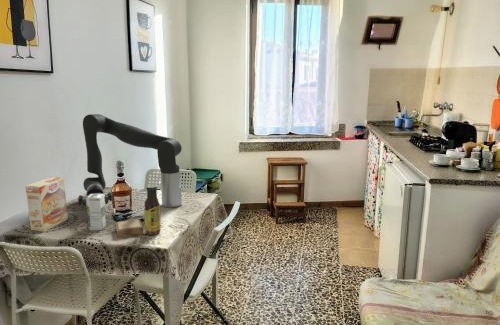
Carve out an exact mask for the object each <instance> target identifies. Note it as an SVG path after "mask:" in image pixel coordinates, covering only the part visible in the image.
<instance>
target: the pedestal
mask: <svg viewBox="0 0 500 325" xmlns="http://www.w3.org/2000/svg"><path fill="white" fill-rule="evenodd" d="M115 230H116V235H117V238H118V239H120V238H126V237H132V236H133V237H134V236H140V235H141V236H142V235H144V226H143V224H142V220H141V219H140V218H137V219H129V220H120V221H116V222H115Z"/></svg>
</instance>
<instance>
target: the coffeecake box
mask: <svg viewBox="0 0 500 325" xmlns="http://www.w3.org/2000/svg"><path fill="white" fill-rule="evenodd" d="M24 187H25V193H26V201H27V209H28V217H29V223H30V224H29V225H30V231H37V232H47V231H48V230H51V229H52V228H54V227H56V226H57V225H59V224H62V223H63V222H65V221H67V220H68V219H69V217H68V208H67V199H66V190H65V189H66V188H65V178H64V177H57V176H56V177H55V176H50V177H46V178H45V179H41V180H39V181H36V182H33V183H30V184H27V185H25V186H24Z"/></svg>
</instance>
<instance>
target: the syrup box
mask: <svg viewBox="0 0 500 325" xmlns="http://www.w3.org/2000/svg"><path fill="white" fill-rule="evenodd" d="M104 194H105V193H104ZM104 194H91V195H89V196H88V197H87V198H86V202H87V204H86V211H87V225H88V228H87V229H88V231H103V229H104V228H106V226H107V212H106V204H105V199H104Z"/></svg>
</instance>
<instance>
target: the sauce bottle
mask: <svg viewBox="0 0 500 325" xmlns="http://www.w3.org/2000/svg"><path fill="white" fill-rule="evenodd" d="M157 190H158V186H157V185H156V184H155V185H154V184H152V185H147V186H146V199H145V201H144V230H145V231H144V232H145V234H146V235H147V236H153V235H154V236H155V235H158V234H159V233H160V232H161V228H162V226H161V224H162V223H161V205H160V202H159V198H158V194H157V192H158V191H157Z"/></svg>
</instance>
